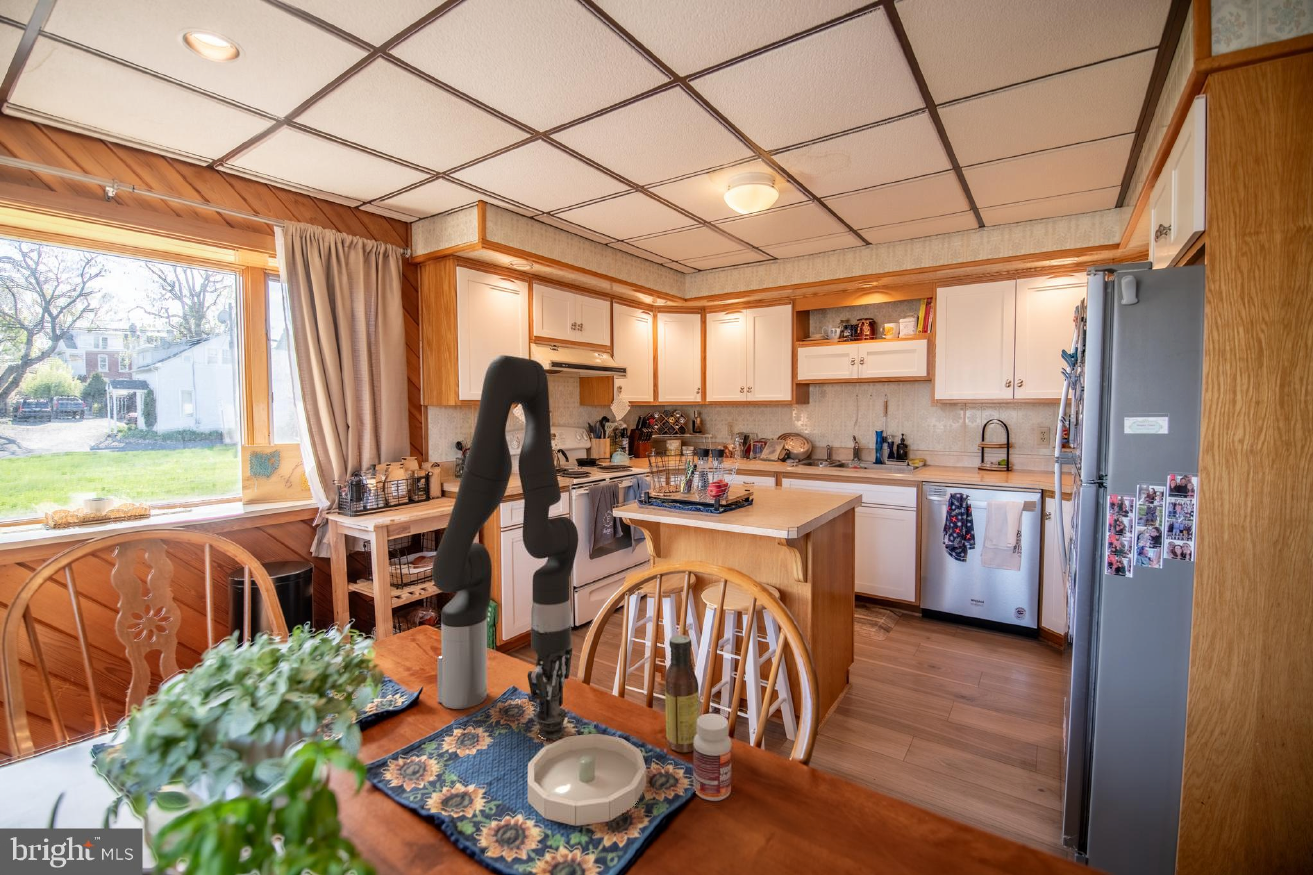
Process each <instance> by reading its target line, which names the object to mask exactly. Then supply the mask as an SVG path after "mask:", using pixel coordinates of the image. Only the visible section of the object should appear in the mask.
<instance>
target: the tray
mask: <svg viewBox="0 0 1313 875" xmlns="http://www.w3.org/2000/svg"><path fill="white" fill-rule="evenodd" d="M645 786H646V787H647V766H646V763H645V759H644V757H643V754H642V751H641V749H639V748H637V747H636V746H635V745H633V744H632V743H630V742H628V741H627V740H625V739H624V738H622V737H617V736H611V735H606V734H601V733H600V734H599V733H588V734H581V735H579V734H577V735H571V736H566V737H563V738H560V739H558V740H555V742H552V743H550V744H547V745H545V746H543V747H542V748H541V749H540V750H539V751H538V752H537V753H536V754H535V755H534V757H533V758H532V759H530V761H529V762H528V763H527V803H528V804H529V805H530V806H532V808H534V809H535V811H536V812H537V813H538V814H539V815H540V816H542V817H543V818H544V819H546V820H550V821H554V822H558V823H562V824H566V825H569V826H576V827H577V826H585V825H591V824H599V823H607V822H610V821H612V820H615V818H617V817H619V816H621V815H623V814H624V813H626V812H628V811H629V810H631V809H633V808H634V807H636V805H637V804H638V802H639V800H640V799H639V797H640V795H641V794H642V795H643V793H644V791H645V789H646V787H645ZM644 788H645V789H644ZM643 790H644V791H643ZM642 792H643V793H642ZM642 795H641V796H642ZM640 798H641V797H640ZM638 799H639V800H638ZM637 801H638V802H637ZM636 803H637V804H636ZM635 804H636V805H635ZM633 806H634V807H633ZM632 807H633V808H632ZM630 808H631V809H630ZM627 810H628V811H627ZM622 813H623V814H622Z"/></svg>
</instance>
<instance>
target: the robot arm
mask: <svg viewBox="0 0 1313 875" xmlns="http://www.w3.org/2000/svg"><path fill="white" fill-rule="evenodd" d="M513 405H521V409H522V411H523V416H524V422H525V430H524V437H523V441H522V444H521V448H520V452H519V457H518V466H517V467H518V474H519V479H520V480H519V481H520V485H521V490H522V495H523V499H524V503H523V520H522V521H523V522H522V542H523V546H524V549H525V550H526V551H527V553H528V554H529V555H530V556H532V557H533V558H534V559H537V560H541V559H546V558H547V559H546V562H545V563H544V565H542V566H541V567H539V568H538V569H536V570H535V571H534V572H533V576H532V602H531V610H530V612H531V613H530V647H531V649H532V651H533V652H535V653H536V655H537V658H536V662H535V666H536V667H535V668H534V670H529V671H528V673H527V681H528V684H529V685H528V686H529V692H530V696H531V699H532V700H538V703H539V704H538V711H539V716H540V717H541V718H546V719H549V718H550V717H551V693H552V686H554V685H555V680H556V676H557V677H558V680H559V692H560V694H561V695H560V697H559V707H560V708H561V706H563V704H564V687H565V685H566V680H568V679H569V677H570V671H571V663H572V655H573V647H571V645H572V607H571V598H570V597H571V596H570V591H571V590H570V589H571V588H570V587H571V585H570V584H571V575H572V571H573V568H574V563H575V559H576V556H577V555H576V554H577V551H578V546H579V532H578V529H577V528H578V527H577V526H576V525H575V522H574V520H572V519H571V518H569V517H568V516H567V517H566V516H558V517H551V518H549V513H550V507H553V506H554V505H556V504H558V503H559V502H560V501H561V498H562V495H561V494H562V493H561V488H560V483H559V482H560V481H559V478H558V474H557V469H556V464H555V459H554V458H555V457H554V453H553V446H552V445H553V444H552V431H551V430H552V429H551V412H550V411H551V410H550V393H549V381H548V376H547V372H546V369H545V368H544V366H543V365H542V364H541V363H540V362H539V361H537V360H534V359H530V358H525V357H518V356H513V355H505V354H504V355H503V354H502V355H498V356H495V357H494V359H492V361H491V362H490V364H488V367H487V370H486V372H485V374H484V380H483V384H482V389H481V396H480V402H479V407H478V412H477V419H476V424H475V428H474V432H473V435H472V439H471V443H470V448H469V450H468V454H467V458H466V460H465V463H464V467H463V470H462V474H461V477H460V481H459V486H458V490H457V493H456V496H455V501H454V504H453V507H452V511H451V514H450V517H449V519H448V522H447V525H446V528H445V530H444V533H443V535H442V537H441V540H440V543H439V545H438V547H437V550H436V552H435V555H434V558H433V563H432V567H431V568H432V573H431V574H432V580H433V583H434V585H435V588H437V590H439V591H440V592H442V593H445V594H448V593H449V594H450V593H451V594H452V593H455V595H454V597H453V598H451V600H450V601H449V602H447V603H446V604H445V605H444V606H443V607H442V608H441V609H442V610H441V611H440V612H441V615H440V617H441V618H440V619H441V620H440V621H441V626H440V627H441V631H440V632H441V634H440V635H441V637H440V638H441V640H440V641H441V642H440V643H441V655H439V656H437V659H436V660H437V664H436V665H437V670H436V671H437V702H438V703H441V704H442V705H443V706H444V707H445V708H447V709H453V710H462V709H463V710H464V709H469V708H472V707H475V706H477V705H480V704H481V703H483V702H485V700H486V699H487V696H488V694H487V693H488V684H487V683H488V678H487V677H488V668H487V667H488V664H487V663H488V660H487V658H488V653H487V652H488V651H487V650H488V649H487V648H488V646H487V644H488V639H487V638H488V636H487V634H488V632H487V630H488V629H487V628H488V627H487V626H488V625H487V624H488V620H487V618H488V615H487V614H488V609H489V606H490V604H491V598H492V597H491V594H492V573H493V570H492V569H493V568H492V567H493V566H492V557H491V555H490V553H489V551H488V549H487V548H486V546H484V545H483V544H482V543H479V542H474V541H475V538H476V537H477V534H478V533H479V532H480V530H481V529H482V528H483V526H484V525H485V523H487V522H488V520H489V518H490V517H491V516H493V513H494V512H495V511H496V510H497V509H498V507H499V506H500V504H501V503H502V501H503V499H504V498H505V495H506V493H507V492H506V491H507V489H508V485H509V483H510V482H509V481H510V478H511V476H512V471H513V461H512V460H513V459H512V456H511V455H512V454H511V451H510V448H509V444H508V441H507V434H506V432H507V431H506V429H507V423H508V418H509V414H510V411H511V408H512V406H513ZM545 678H547V679H550V681H547V680H544V679H545ZM545 686H547V692H546V690H545Z"/></svg>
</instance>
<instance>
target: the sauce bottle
mask: <svg viewBox="0 0 1313 875" xmlns="http://www.w3.org/2000/svg"><path fill="white" fill-rule="evenodd" d="M692 645H693V644H692V638H691V637H690V636H688V635H685V634H684V635H682V634H681V635H679V634H678V635H673V636H671V637H670V638H669V648H670V663H669V666H668V668H666V673H665V677H664V678H665V679H664V681H665V682H664V683H665V690H664V692H665V693H664V698H665V729H666V731H665V732H666V734H665V736H666V738H667V745H668V747H669V749H671V750H674V751H675V752H677V753H690V752H694V745H693V744H694V737H695V735H696V734H697V731H696V730H697V719H698V718H699V717H700V696H699V695H700V691H699V682H698V678H697V676H696V674H695V670H694V666H693V663H692V658H691V657H692V654H691V651H692V650H691V649H692V648H691V647H692Z"/></svg>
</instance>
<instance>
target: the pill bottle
mask: <svg viewBox="0 0 1313 875" xmlns="http://www.w3.org/2000/svg"><path fill="white" fill-rule="evenodd" d="M696 731H697V734H696V735H695V737H694V744H693V745H694V751H693V774H692V776H693V779H692V780H693V782H692V783H693V785H694V787H693V789H694V788H695V791H696V792H695V791H694V792H695V793H696V795H697V796H699V797H700V799H701V798H702V799H704V800H707V801H711V802H717V801H722V800H724V799H726V798H727V797H729V795H730V793H731V790H732V740H731V738H730V736H729V721H728V719H727V718H726V717H724V716H723V715H721V714H717V713H705V714H702V715H699V718H698V719H697V730H696Z"/></svg>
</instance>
